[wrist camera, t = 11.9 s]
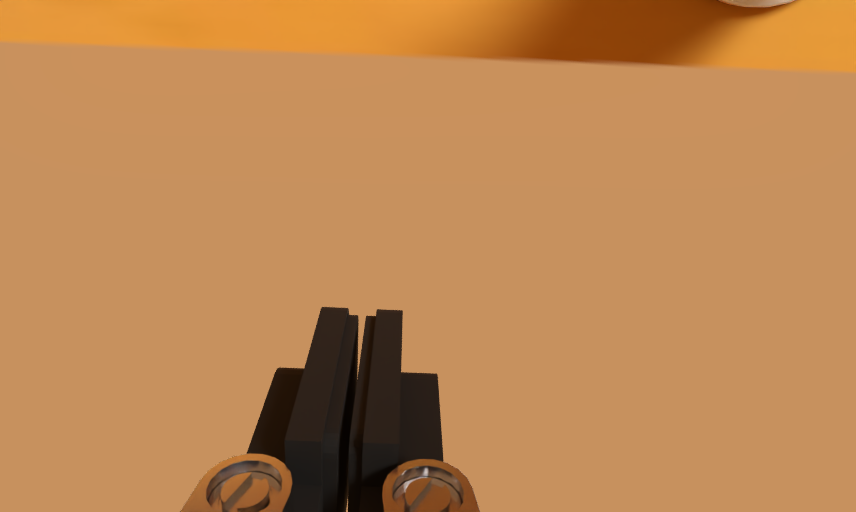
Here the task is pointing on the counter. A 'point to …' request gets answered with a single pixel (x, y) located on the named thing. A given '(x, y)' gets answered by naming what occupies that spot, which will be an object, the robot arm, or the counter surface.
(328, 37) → the counter surface
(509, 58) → the counter surface
